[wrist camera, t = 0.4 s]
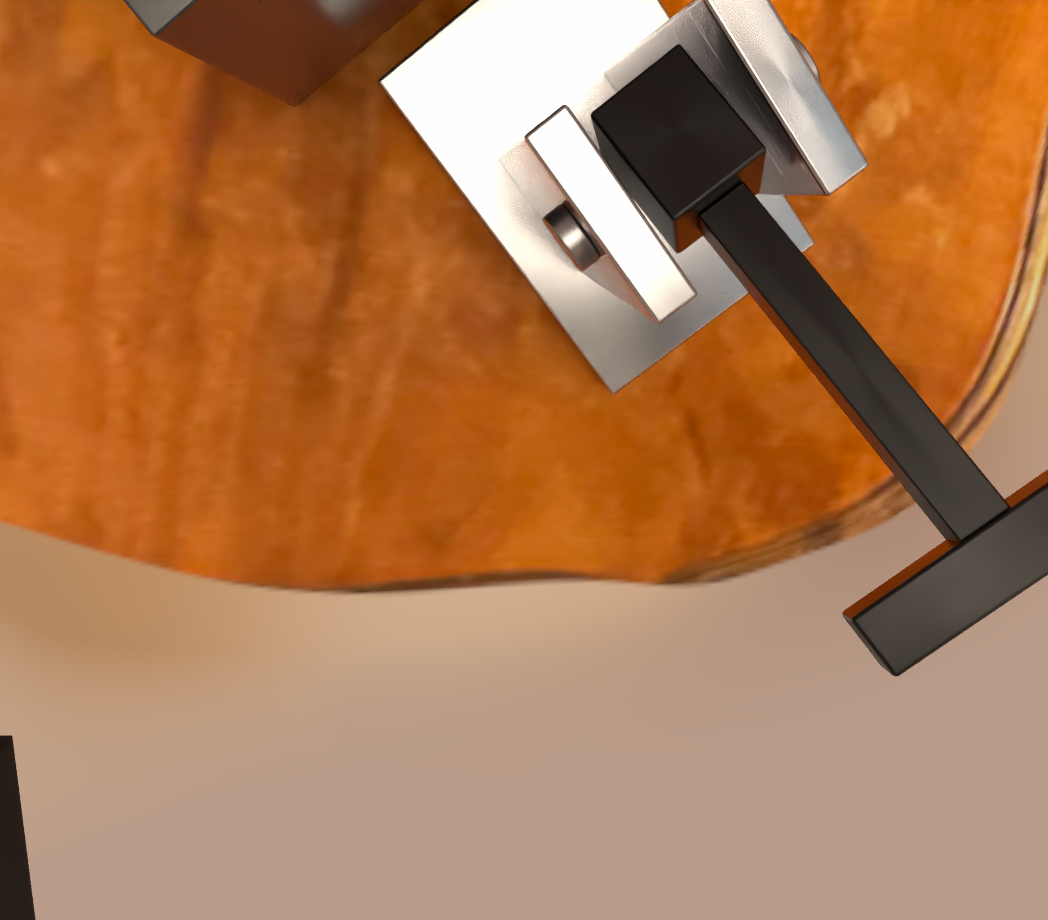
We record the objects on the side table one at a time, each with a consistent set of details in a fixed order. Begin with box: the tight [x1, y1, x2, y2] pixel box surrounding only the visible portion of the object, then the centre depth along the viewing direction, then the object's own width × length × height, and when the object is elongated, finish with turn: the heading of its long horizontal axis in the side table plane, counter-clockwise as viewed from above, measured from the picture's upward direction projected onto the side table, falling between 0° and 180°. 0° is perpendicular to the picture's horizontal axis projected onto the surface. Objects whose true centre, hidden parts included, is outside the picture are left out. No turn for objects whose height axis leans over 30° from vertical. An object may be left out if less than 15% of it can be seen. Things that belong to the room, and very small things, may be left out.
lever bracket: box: [378, 0, 868, 394], centre depth 24 cm, size 12×8×13 cm, turn 37°
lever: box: [590, 44, 1048, 676], centre depth 18 cm, size 12×6×2 cm, turn 38°
